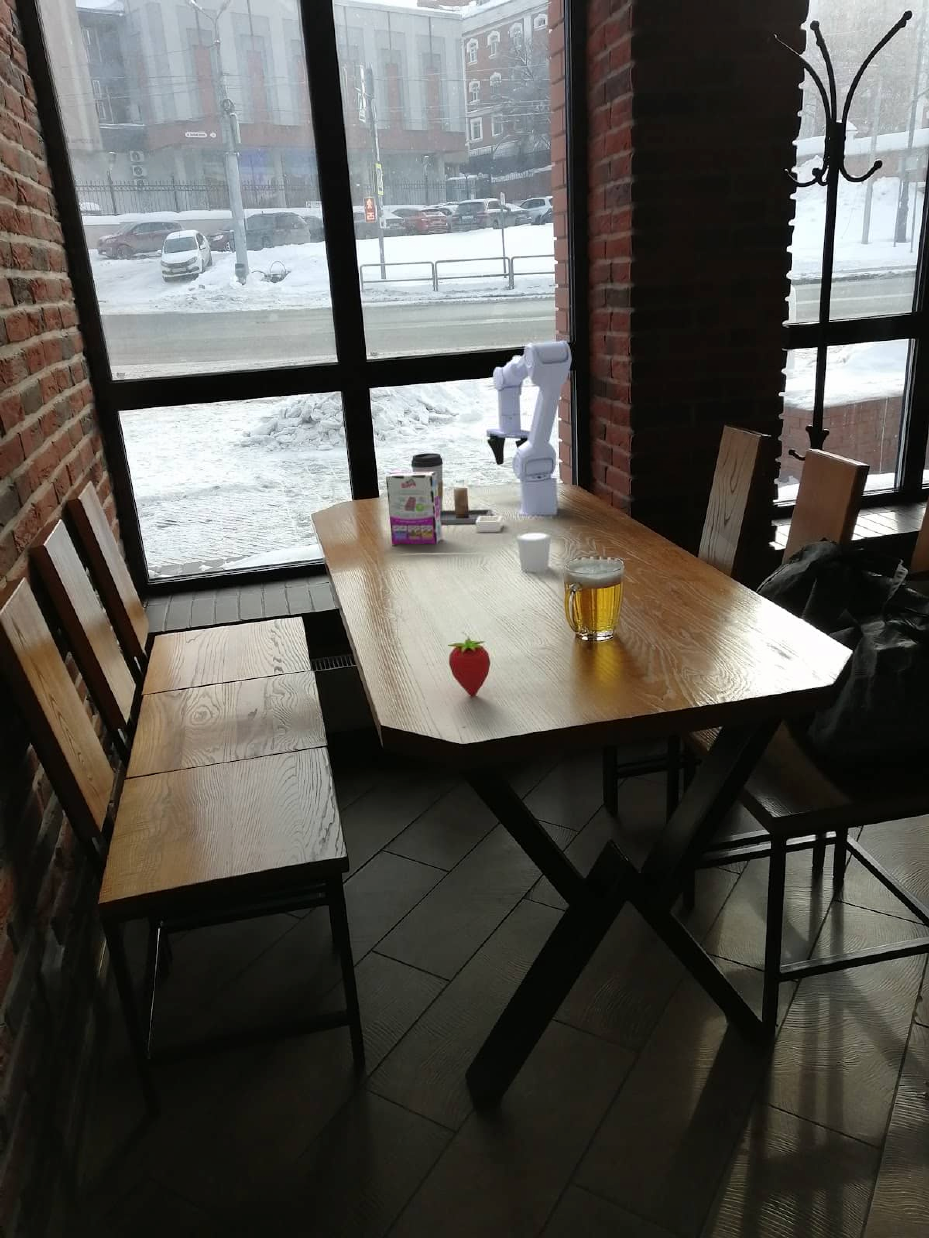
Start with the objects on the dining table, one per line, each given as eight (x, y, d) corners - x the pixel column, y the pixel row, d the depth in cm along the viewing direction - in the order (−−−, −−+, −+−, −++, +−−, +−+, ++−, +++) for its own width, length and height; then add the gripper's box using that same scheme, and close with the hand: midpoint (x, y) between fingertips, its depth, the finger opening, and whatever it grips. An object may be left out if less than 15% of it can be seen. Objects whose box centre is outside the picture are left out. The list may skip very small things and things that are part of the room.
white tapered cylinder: (549, 573, 189) (548, 540, 187) (515, 573, 191) (514, 540, 188) (552, 563, 196) (552, 531, 193) (520, 563, 197) (519, 531, 195)
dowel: (469, 516, 236) (467, 487, 234) (468, 519, 233) (466, 490, 231) (456, 517, 237) (454, 488, 234) (455, 520, 234) (453, 491, 231)
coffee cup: (410, 515, 244) (405, 458, 239) (420, 508, 251) (416, 452, 246) (440, 516, 241) (436, 458, 236) (450, 508, 249) (446, 452, 244)
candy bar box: (442, 540, 219) (438, 470, 213) (437, 545, 214) (432, 475, 209) (397, 539, 222) (391, 471, 216) (391, 545, 217) (385, 475, 212)
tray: (492, 515, 239) (491, 509, 238) (487, 525, 230) (487, 518, 229) (438, 516, 241) (438, 510, 241) (432, 526, 232) (431, 520, 231)
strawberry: (455, 709, 132) (451, 643, 128) (447, 687, 139) (443, 625, 135) (496, 703, 132) (493, 638, 129) (486, 683, 139) (483, 620, 136)
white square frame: (502, 526, 227) (502, 515, 226) (500, 533, 222) (499, 521, 221) (479, 527, 228) (478, 516, 227) (476, 533, 223) (475, 522, 222)
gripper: (478, 415, 246) (480, 466, 251) (522, 417, 237) (524, 470, 242) (494, 411, 251) (496, 461, 256) (538, 413, 242) (540, 465, 247)
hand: (511, 465), depth 249 cm, fingers open, 7 cm apart
